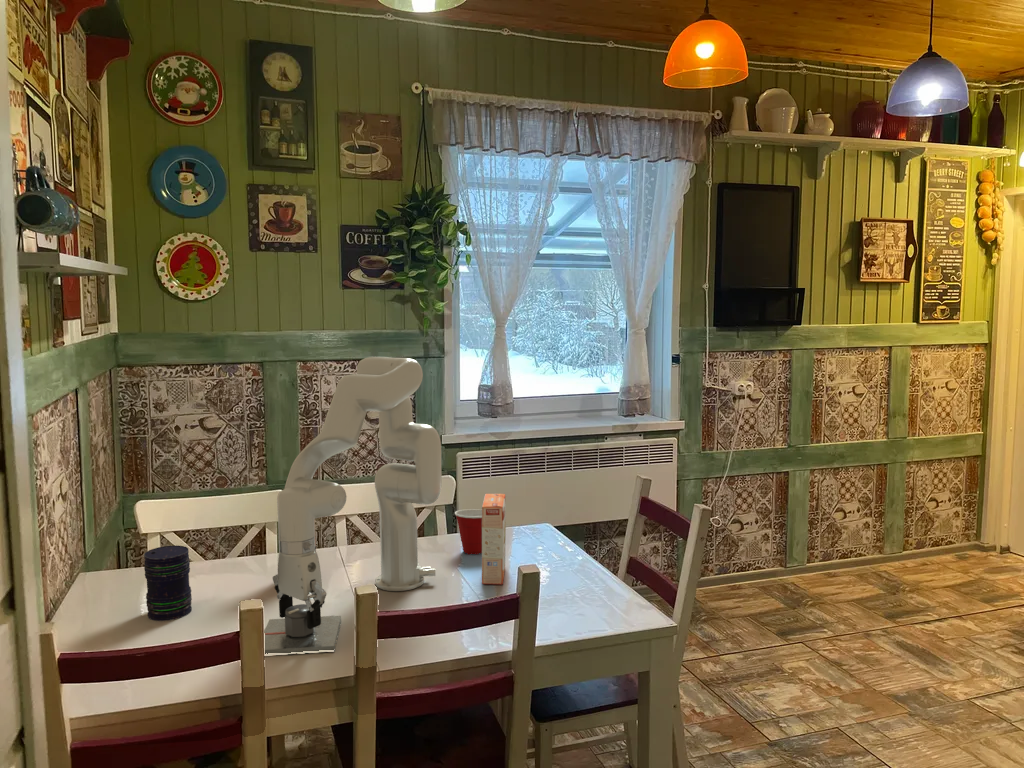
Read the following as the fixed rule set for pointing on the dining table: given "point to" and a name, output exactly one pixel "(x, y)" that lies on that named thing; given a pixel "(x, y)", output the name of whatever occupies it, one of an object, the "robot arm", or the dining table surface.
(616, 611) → the dining table surface
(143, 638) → the dining table surface
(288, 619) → the knob
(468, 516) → the plastic cup
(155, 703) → the dining table surface
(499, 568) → the cracker box
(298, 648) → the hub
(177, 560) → the storage jar
